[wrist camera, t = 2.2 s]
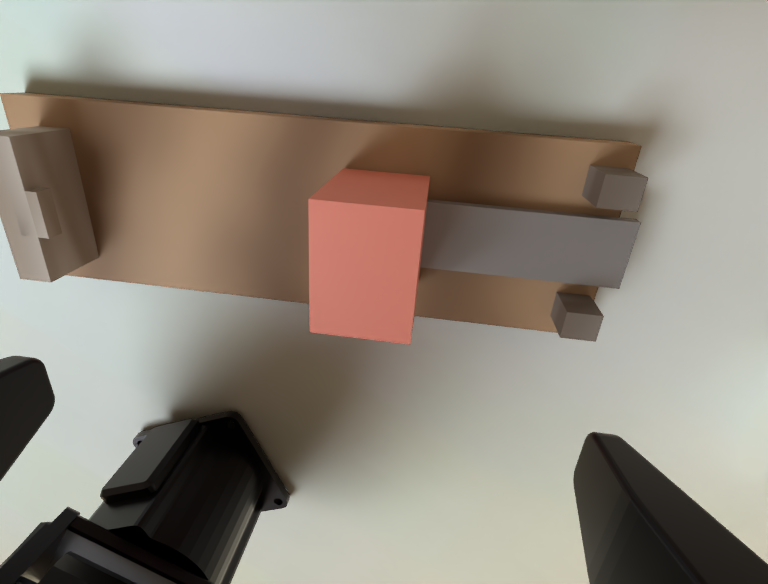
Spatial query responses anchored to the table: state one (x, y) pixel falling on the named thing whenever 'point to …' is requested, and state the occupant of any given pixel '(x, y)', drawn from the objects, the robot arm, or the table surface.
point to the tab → (437, 249)
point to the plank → (277, 198)
